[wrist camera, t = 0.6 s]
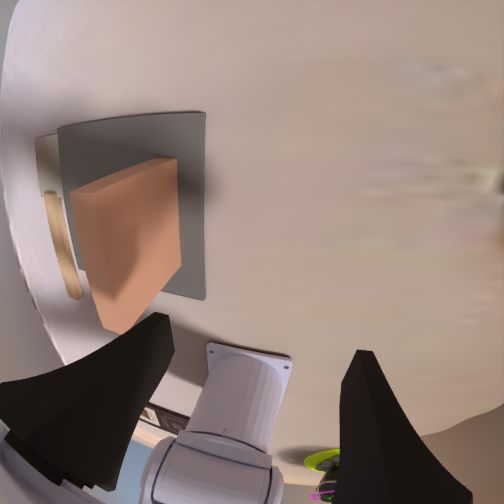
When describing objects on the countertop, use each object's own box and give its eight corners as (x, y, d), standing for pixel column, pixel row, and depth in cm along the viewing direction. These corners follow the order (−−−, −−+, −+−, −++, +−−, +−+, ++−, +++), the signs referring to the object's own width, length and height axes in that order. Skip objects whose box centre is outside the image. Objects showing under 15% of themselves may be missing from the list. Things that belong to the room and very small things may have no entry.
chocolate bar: (209, 445, 37) (118, 410, 40) (211, 441, 38) (120, 406, 41) (209, 426, 33) (104, 384, 36) (210, 421, 34) (107, 380, 36)
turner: (92, 298, 26) (86, 303, 25) (67, 289, 27) (61, 293, 26) (62, 132, 18) (54, 134, 17) (37, 137, 19) (30, 140, 18)
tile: (181, 265, 20) (124, 335, 14) (161, 261, 21) (101, 327, 14) (177, 158, 17) (93, 193, 10) (154, 157, 17) (67, 191, 10)
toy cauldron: (342, 439, 30) (336, 508, 20) (407, 451, 30) (409, 506, 21) (287, 463, 37) (276, 515, 28) (350, 475, 38) (345, 521, 28)
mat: (205, 297, 22) (203, 300, 22) (81, 266, 24) (78, 269, 24) (205, 112, 15) (202, 112, 15) (61, 127, 18) (57, 128, 17)
